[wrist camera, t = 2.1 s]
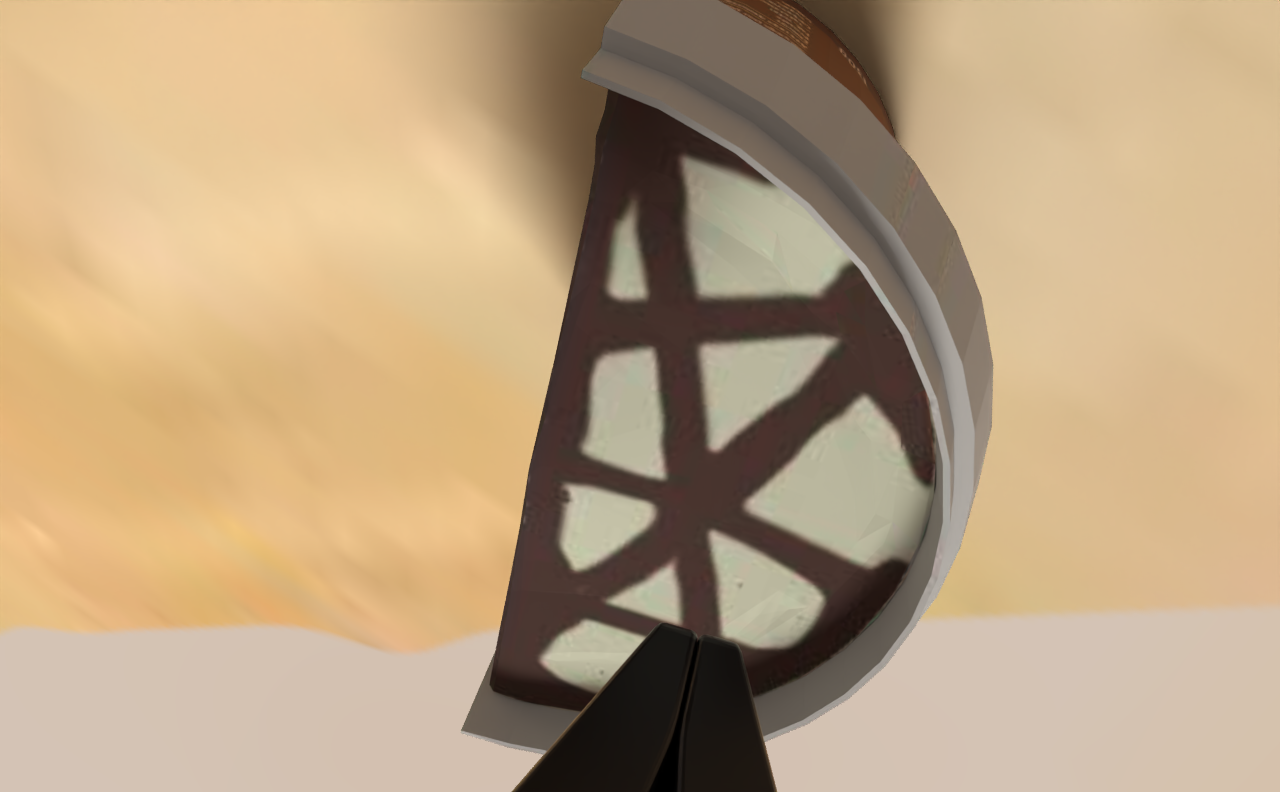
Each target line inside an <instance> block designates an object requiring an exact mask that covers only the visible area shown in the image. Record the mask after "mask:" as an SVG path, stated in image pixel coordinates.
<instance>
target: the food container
mask: <svg viewBox="0 0 1280 792" xmlns="http://www.w3.org/2000/svg"><path fill="white" fill-rule="evenodd" d="M581 78H582V79H585V80H587V81H590V82H592V83H595V84H597V85H600V86H602V87H605V88H607V89H608V95H607V101H606V107H605V111H604V114H603V117H602V120H601V123H600V126H599V129H598V132H597V135H596V152H595V167H594V172H593V178H592V184H591V189H590V195H589V201H588V206H587V210H586V215H585V220H584V224H583V229H582V233H581V238H580V243H579V247H578V252H577V257H576V261H575V266H574V271H573V275H572V280H571V285H570V289H569V294H568V299H567V303H566V308H565V313H564V318H563V322H562V327H561V332H560V336H559V341H558V346H557V350H556V355H555V360H554V364H553V368H552V373H551V377H550V381H549V386H548V390H547V394H546V399H545V403H544V407H543V411H542V416H541V420H540V424H539V429H538V433H537V437H536V441H535V446H534V450H533V454H532V459H531V463H530V467H529V473H528V479H527V485H526V492H525V498H524V504H523V511H522V517H521V524H520V529H519V535H518V540H517V545H516V550H515V556H514V561H513V566H512V571H511V576H510V581H509V586H508V591H507V596H506V601H505V606H504V611H503V616H502V621H501V626H500V631H499V636H498V641H497V646H496V651H495V654H494V656H493V658H492V660H491V663H490V665H489V668H488V670H487V672H486V674H485V676H484V679H483V681H482V683H481V686H480V688H479V690H478V693H477V695H476V697H475V700H474V702H473V704H472V706H471V709H470V711H469V713H468V716H467V718H466V721H465V723H464V725H463V727H462V730H461V733H462V734H466V735H469V736H472V737H475V738H478V739H482V740H485V741H488V742H492V743H495V744H498V745H502V746H505V747H509V748H514V749H519V750H524V751H529V752H534V753H539V754H545V753H546V752H547V751H548V749H549V748H550V747H551V746H552V745H553V744H554V742H555V741H556V740H557V739H558V738H559V737H560V736H561V734H562V733H563V732H564V731H565V730H566V729H567V727H568V726H569V725H570V724H571V723H572V722H573V721H574V719H575V718H576V717H577V716H578V715H579V714H580V713H581V711H582V710H583V709H584V708H585V707H586V706H587V704H588V703H589V702H590V701H591V700H592V699H593V698H594V696H595V695H596V694H597V693H598V692H599V691H600V689H601V688H602V687H603V686H604V685H605V684H606V683H607V681H608V680H609V679H610V678H611V677H612V676H613V675H614V673H615V672H616V671H617V670H618V669H619V668H620V666H621V665H622V664H623V663H624V662H625V661H626V660H627V658H628V657H629V656H630V655H631V654H632V653H633V651H634V650H635V649H636V648H637V647H638V646H639V645H640V643H641V642H642V641H643V640H644V639H645V638H646V637H647V635H648V634H649V633H650V632H651V631H652V630H653V628H654V627H655V626H657V625H658V624H660V623H663V622H664V623H669V624H672V625H676V626H679V627H683V628H686V629H690V630H692V631H694V632H695V633H696V634H697V637H698V639H699V637H700V636H702V635H710V636H714V637H717V638H720V639H724V640H727V641H731V642H734V643H736V644H737V645H738V646H739V647H740V650H741V652H742V655H743V659H744V663H745V667H746V671H747V675H748V679H749V683H750V687H751V691H752V695H753V698H754V702H755V706H756V710H757V714H758V718H759V722H760V726H761V730H762V734H763V738H764V742H766V741H768V740H771V739H773V738H775V737H778V736H780V735H783V734H785V733H788V732H790V731H792V730H795V729H797V728H800V727H802V726H805V725H807V724H808V723H810V722H811V721H813V720H815V719H816V718H818V717H820V716H822V715H823V714H825V713H826V712H828V711H830V710H831V709H833V708H835V707H836V706H838V705H839V704H841V703H843V702H844V701H846V700H847V699H849V698H850V697H851V696H852V695H853V694H854V693H856V692H857V691H858V690H859V689H860V688H861V687H863V686H864V685H865V684H866V683H867V682H868V681H869V680H870V679H872V677H874V676H875V675H876V674H877V673H878V672H879V671H881V670H882V669H883V668H884V667H885V666H886V665H887V663H888V662H889V661H890V659H891V658H892V657H893V655H894V654H895V653H896V651H897V650H898V649H899V647H900V646H901V645H902V643H903V642H904V641H905V640H906V638H907V637H908V635H909V634H910V633H911V632H912V630H913V629H914V628H915V626H916V624H917V622H918V621H919V620H920V618H921V617H922V616H923V614H924V613H925V612H926V610H927V609H928V608H929V606H930V605H931V604H932V602H933V601H934V600H935V599H936V597H937V595H938V593H939V591H940V589H941V587H942V585H943V583H944V581H945V578H946V576H947V574H948V572H949V570H950V568H951V566H952V564H953V562H954V560H955V558H956V556H957V553H958V551H959V549H960V546H961V543H962V539H963V536H964V532H965V529H966V525H967V522H968V518H969V515H970V511H971V508H972V504H973V501H974V497H975V493H976V490H977V486H978V483H979V479H980V474H981V470H982V466H983V461H984V457H985V453H986V448H987V444H988V440H989V435H990V431H991V427H992V391H993V360H992V355H991V349H990V343H989V338H988V332H987V326H986V320H985V315H984V309H983V303H982V298H981V295H980V292H979V290H978V287H977V285H976V282H975V279H974V277H973V274H972V271H971V269H970V266H969V264H968V261H967V258H966V256H965V253H964V250H963V248H962V245H961V242H960V240H959V237H958V235H957V232H956V230H955V228H954V226H953V225H952V223H951V221H950V220H949V218H948V216H947V215H946V213H945V211H944V210H943V208H942V206H941V205H940V203H939V201H938V200H937V198H936V196H935V195H934V193H933V191H932V190H931V188H930V186H929V185H928V183H927V181H926V180H925V178H924V177H923V175H922V173H921V172H920V170H919V168H918V167H917V165H916V163H915V162H914V161H913V160H912V159H911V157H910V156H909V155H908V154H907V153H906V152H905V150H904V149H903V148H902V147H901V146H900V145H899V144H898V142H897V141H896V140H895V136H894V131H893V128H892V125H891V123H890V120H889V118H888V115H887V113H886V111H885V108H884V106H883V103H882V101H881V98H880V96H879V94H878V92H877V90H876V89H875V87H874V86H873V84H872V82H871V81H870V79H869V78H868V76H867V74H866V73H865V71H864V70H863V68H862V66H861V65H860V63H859V62H858V60H857V59H856V58H855V57H854V56H853V54H852V53H851V52H850V51H849V50H848V49H847V48H846V47H845V45H844V44H843V43H842V42H841V41H840V40H839V39H838V37H837V36H836V35H835V34H834V33H833V32H832V31H831V30H830V29H829V28H828V27H827V26H825V25H824V24H823V23H822V22H820V21H819V20H818V19H817V18H816V17H814V16H813V15H812V14H811V13H809V12H808V11H807V10H806V9H805V8H803V7H802V6H801V5H800V4H798V3H796V2H795V1H793V0H622V1H621V2H620V4H619V5H618V7H617V8H616V10H615V11H614V13H613V14H612V16H611V17H610V19H609V20H608V22H607V23H606V25H605V27H604V32H603V38H602V44H601V48H600V50H599V51H598V52H597V53H596V54H595V56H594V57H593V58H592V59H591V60H590V61H589V63H588V64H587V65H586V66H585V67H584V68H583V70H582V74H581ZM698 639H697V641H698Z"/></svg>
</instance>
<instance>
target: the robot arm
mask: <svg viewBox="0 0 1280 792" xmlns="http://www.w3.org/2000/svg"><path fill="white" fill-rule="evenodd" d="M697 639H698V637H697V634H696V633H695V632H694V631H692V630H690V629H686V628H683V627H679V626H676V625H672V624H669V623H664V622H663V623H660V624H658V625H657V626H655V627H654V628H653V630H652V631H651V632H650V633H649V634H648V635H647V637H646V638H645V639H644V640H643V641H642V642H641V643H640V645H639V646H638V647H637V648H636V649H635V650H634V651H633V653H632V654H631V655H630V656H629V657H628V658H627V660H626V661H625V662H624V663H623V664H622V665H621V666H620V668H619V669H618V670H617V671H616V672H615V673H614V675H613V676H612V677H611V678H610V679H609V680H608V681H607V683H606V684H605V685H604V686H603V687H602V688H601V689H600V691H599V692H598V693H597V694H596V695H595V696H594V698H593V699H592V700H591V701H590V702H589V703H588V704H587V706H586V707H585V708H584V709H583V710H582V711H581V713H580V714H579V715H578V716H577V717H576V718H575V719H574V721H573V722H572V723H571V724H570V725H569V726H568V727H567V729H566V730H565V731H564V732H563V733H562V734H561V736H560V737H559V738H558V739H557V740H556V741H555V742H554V744H553V745H552V746H551V747H550V748H549V749H548V751H547V752H546V753H545V754H544V755H543V756H542V757H541V759H540V760H539V761H538V762H537V763H536V764H535V765H534V767H533V768H532V769H531V770H530V771H529V773H528V774H527V775H526V776H525V777H524V778H523V779H522V781H521V782H520V783H519V784H518V785H517V786H516V787H515V789H514V790H513V791H512V792H777V789H776V785H775V781H774V777H773V773H772V770H771V766H770V762H769V758H768V754H767V750H766V746H765V742H764V738H763V734H762V730H761V726H760V722H759V718H758V714H757V710H756V706H755V702H754V698H753V695H752V691H751V687H750V683H749V679H748V675H747V671H746V667H745V663H744V659H743V655H742V652H741V650H740V647H739V646H738V645H737V644H736V643H734V642H731V641H727V640H724V639H720V638H717V637H714V636H710V635H702V636H700V637H699V639H698V641H697Z"/></svg>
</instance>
